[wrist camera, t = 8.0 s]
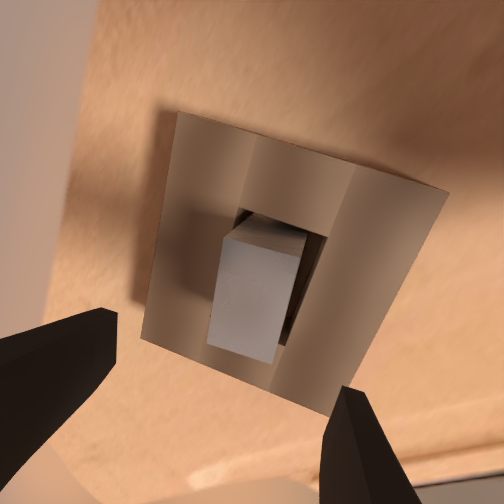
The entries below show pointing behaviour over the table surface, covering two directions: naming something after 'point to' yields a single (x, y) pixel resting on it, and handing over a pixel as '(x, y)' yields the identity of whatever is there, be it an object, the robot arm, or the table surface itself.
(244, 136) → the well block
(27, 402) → the robot arm
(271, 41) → the table surface
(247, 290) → the wedge block
